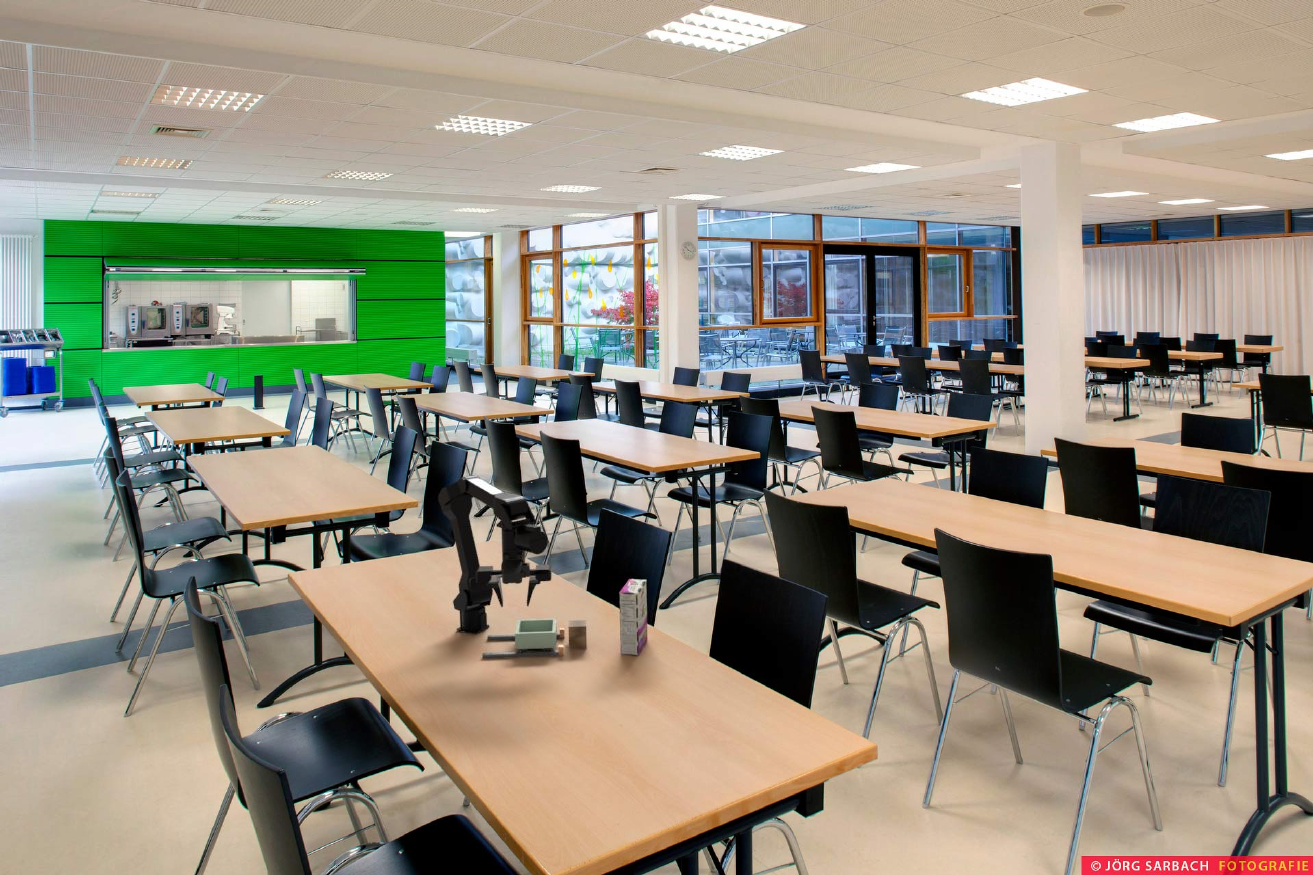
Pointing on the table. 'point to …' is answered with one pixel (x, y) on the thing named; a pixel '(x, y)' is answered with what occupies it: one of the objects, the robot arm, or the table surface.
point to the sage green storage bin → (536, 634)
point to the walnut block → (577, 634)
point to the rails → (523, 654)
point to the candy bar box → (633, 616)
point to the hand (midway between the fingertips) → (515, 606)
